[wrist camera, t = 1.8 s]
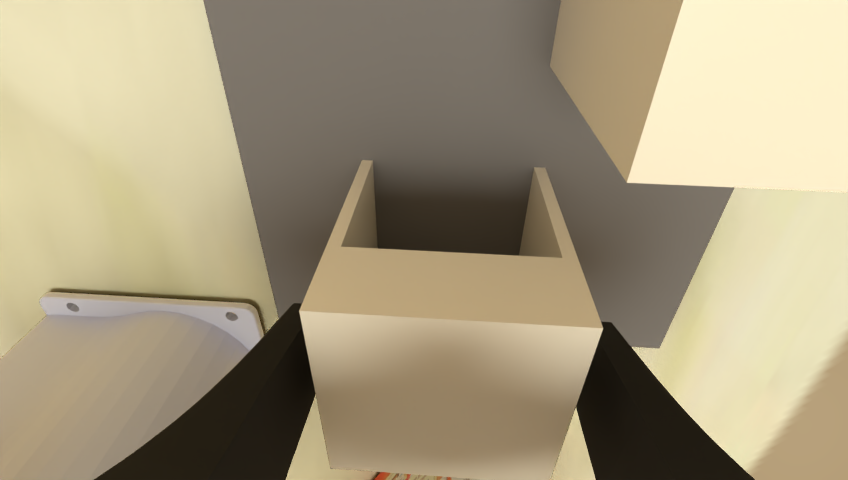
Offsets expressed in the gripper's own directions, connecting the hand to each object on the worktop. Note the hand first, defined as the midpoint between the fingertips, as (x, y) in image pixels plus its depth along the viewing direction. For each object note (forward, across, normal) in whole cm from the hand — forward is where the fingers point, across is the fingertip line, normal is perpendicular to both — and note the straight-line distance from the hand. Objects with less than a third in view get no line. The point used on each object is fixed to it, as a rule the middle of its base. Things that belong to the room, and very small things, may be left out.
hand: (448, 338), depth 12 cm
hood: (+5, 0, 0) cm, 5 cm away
